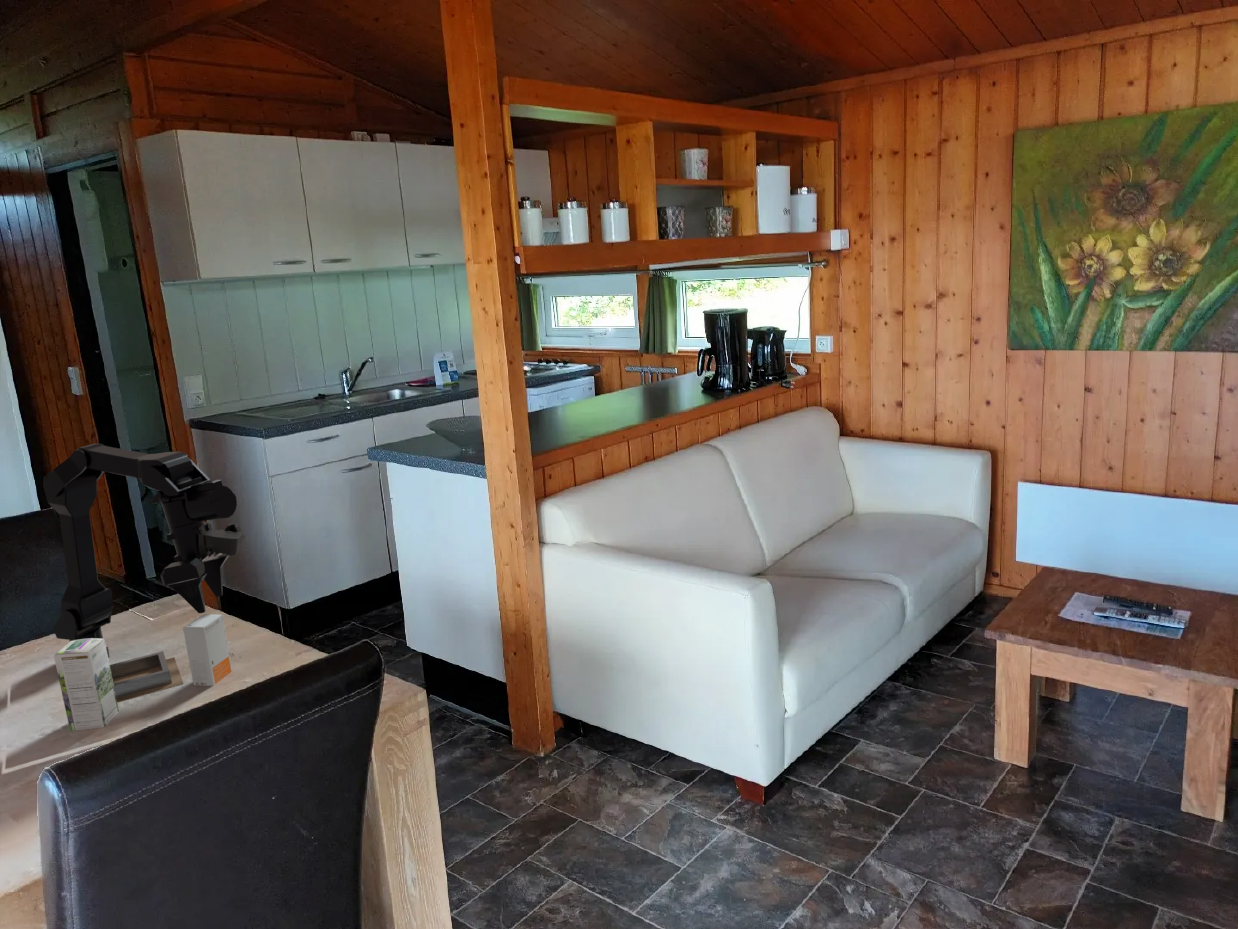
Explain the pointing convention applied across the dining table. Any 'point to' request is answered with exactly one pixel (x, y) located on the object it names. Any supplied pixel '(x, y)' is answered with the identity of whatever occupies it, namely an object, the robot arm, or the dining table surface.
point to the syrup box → (86, 683)
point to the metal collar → (142, 681)
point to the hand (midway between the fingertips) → (211, 604)
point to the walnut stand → (172, 667)
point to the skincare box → (207, 649)
